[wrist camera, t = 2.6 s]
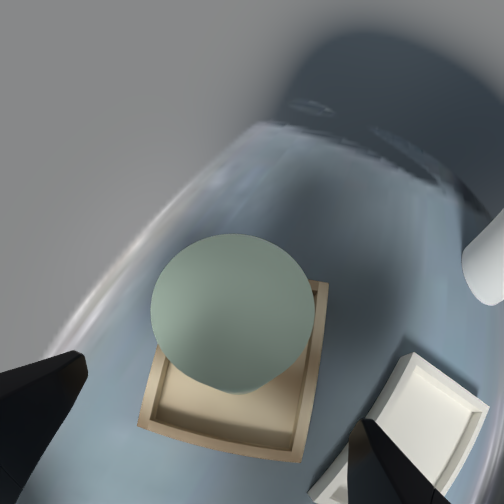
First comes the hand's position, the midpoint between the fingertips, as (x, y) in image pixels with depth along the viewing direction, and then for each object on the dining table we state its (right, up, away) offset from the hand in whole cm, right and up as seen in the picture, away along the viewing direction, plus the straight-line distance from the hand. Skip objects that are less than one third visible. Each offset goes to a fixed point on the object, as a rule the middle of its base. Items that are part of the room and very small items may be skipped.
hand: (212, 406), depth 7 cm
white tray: (+12, -10, +7) cm, 17 cm away
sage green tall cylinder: (0, -2, +10) cm, 10 cm away
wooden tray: (0, -3, +11) cm, 11 cm away
